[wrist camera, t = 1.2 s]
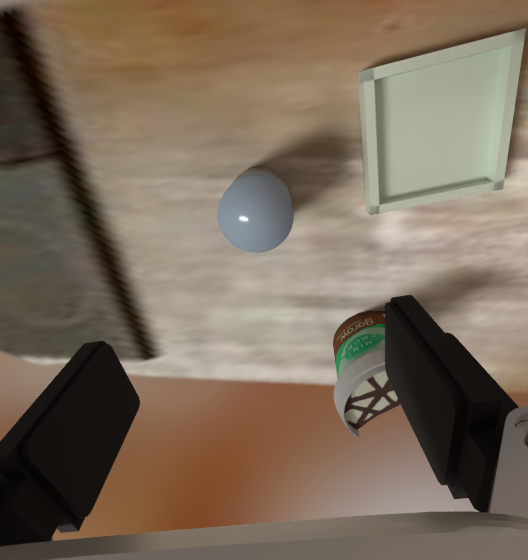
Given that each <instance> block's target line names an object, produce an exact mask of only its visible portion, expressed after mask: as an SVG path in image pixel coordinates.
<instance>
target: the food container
mask: <svg viewBox="0 0 528 560" xmlns="http://www.w3.org/2000/svg"><path fill="white" fill-rule="evenodd" d="M333 347H334V354H335V362H336V369H337V377H338V381H337V383H336V386H335V389H334V402H335V405H336V408H337V410H338V412H339V414H340V417H341V419H342V420H343V422H344V423H345V425H346V426H347V427H348V429H349V430H350V431H351V432H352V433H353V434H354V435H355V436H356V437H358V438H359V432H358V429H359V428H360V427H362V426H363V425H364V424H366V423H367V422H368V421H369V420H371V419H372V418H374V417H376V416H377V415H379V414H381V413H384V412H386V411H388V410H390V409H392V408H394V407H396V406H398V405H399V404H400V402H399V400H398V398H397V396H396V393H395V391H394V389H393V387H392V385H391V383H390V381H389V379H388V377H387V374H386V370H385V312H384V311H367V312H363V313H359V314H356V315H354V316H352V317H350V318H348V319H347V320H346V321H345V322H343V323H342V324H341V325H340V327H339V328H338V330H337V331H336V333H335V336H334V340H333Z"/></svg>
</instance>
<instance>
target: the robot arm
mask: <svg viewBox="0 0 528 560" xmlns="http://www.w3.org/2000/svg"><path fill="white" fill-rule="evenodd" d="M385 370H386V374H387V377H388V379H389V381H390V383H391V385H392V387H393V389H394V391H395V393H396V396H397V398H398V400H399V402H400V404H401V406H402V408H403V410H404V412H405V414H406V416H407V418H408V420H409V422H410V424H411V426H412V428H413V430H414V433H415V435H416V437H417V438H418V441H419V443H420V445H421V447H422V449H423V451H424V453H425V455H426V457H427V459H428V461H429V464H430V465H431V468H432V470H433V472H434V474H435V476H436V478H437V480H438V481H439V483H440V484H441V485H447V486H448V488H449V490H450V491H451V493H452V495H453V498H454V499H461V498H469V500H470V502H471V503H472V505H473V507H474V508H475V509H476V510H478V511H479V512H421V513H403V514H387V515H386V514H385V515H368V516H352V517H340V518H326V519H313V520H300V521H287V522H275V523H261V524H249V525H237V526H223V527H212V528H200V529H187V530H175V531H163V532H151V533H139V534H127V535H116V536H106V537H105V536H104V537H93V538H82V539H70V540H59V541H53V538H52V536H53V534H54V532H55V530H56V528H57V529H58V530H59V531H60V532H73V531H79V529H80V527H81V525H82V523H83V521H84V519H85V517H86V516H88V515H89V514H90V512H91V511H92V509H93V507H94V504H95V502H96V500H97V498H98V496H99V494H100V491H101V489H102V487H103V485H104V483H105V480H106V478H107V476H108V474H109V472H110V470H111V467H112V465H113V463H114V461H115V459H116V457H117V455H118V452H119V450H120V448H121V445H122V444H123V442H124V439H125V437H126V435H127V433H128V431H129V429H130V426H131V424H132V422H133V420H134V418H135V416H136V413H137V411H138V409H139V405H140V400H139V397H138V395H137V393H136V391H135V389H134V387H133V385H132V384H131V382H130V380H129V378H128V376H127V374H126V372H125V371H124V369H123V367H122V365H121V363H120V361H119V359H118V358H117V356H116V354H115V352H114V350H113V348H112V347H111V346H110V345H109V344H107V343H106V342H104V341H98V342H91V343H86V344H84V345H83V346H82V347H81V348H80V349H79V350H78V351H77V353H76V354H75V355H74V356H73V357H72V358H71V360H70V361H69V362H68V363H67V364H66V365H65V367H64V368H63V369H62V370H61V371H60V372H59V374H58V375H57V376H56V377H55V378H54V379H53V381H52V382H51V383H50V384H49V385H48V387H47V388H46V389H45V390H44V391H43V392H42V394H41V395H40V396H39V397H38V398H37V399H36V400H35V402H34V403H33V404H32V405H31V406H30V407H29V409H28V410H27V411H26V412H25V413H24V414H23V416H22V417H21V418H20V419H19V420H18V422H17V423H16V424H15V425H14V426H13V427H12V428H11V430H10V431H9V432H8V433H7V434H6V436H5V437H4V438H3V439H2V440H1V441H0V560H528V407H527V406H526V407H521V408H519V407H518V406H517V405H516V403H515V402H514V401H513V400H512V399H511V398H510V397H509V396H508V395H507V394H506V392H505V391H504V390H503V389H502V388H501V387H500V386H499V385H498V384H497V383H496V381H495V380H494V379H493V378H492V377H491V376H490V375H489V374H488V373H487V371H486V370H485V369H484V368H483V367H482V366H481V365H480V364H479V363H478V362H477V360H476V359H475V358H474V357H473V356H472V355H471V354H470V353H469V352H468V350H467V349H466V348H465V347H464V346H463V345H462V344H461V343H460V342H459V341H458V339H457V338H456V337H455V336H453V335H452V334H450V333H444V331H443V330H442V329H441V328H440V327H439V326H438V325H437V323H436V322H435V321H434V320H433V319H432V318H431V317H430V315H429V314H428V313H427V312H426V311H425V310H424V308H423V307H422V306H421V305H420V304H419V303H418V302H417V300H416V299H415V298H414V297H413V296H412V295H406V296H400V297H393V298H391V301H390V303H386V304H385Z"/></svg>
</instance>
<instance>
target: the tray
mask: <svg viewBox="0 0 528 560" xmlns="http://www.w3.org/2000/svg"><path fill="white" fill-rule="evenodd" d="M525 32H526V28H524V29H520V30H516V31H513V32H509V33H505V34H501V35H497V36H493V37H490V38H486V39H482V40H478V41H474V42H470V43H466V44H463V45H459V46H455V47H451V48H447V49H443V50H440V51H436V52H432V53H428V54H424V55H420V56H416V57H413V58H409V59H405V60H401V61H397V62H393V63H390V64H386V65H382V66H378V67H374V68H370V69H366V70H363V71H362V72H360V73H359V74H358V91H359V107H360V123H361V139H362V156H363V172H364V188H365V205H366V211H367V212H368V213H369V214H370V215H374V214H379V213H384V212H389V211H394V210H399V209H404V208H409V207H414V206H420V205H425V204H430V203H435V202H440V201H445V200H450V199H455V198H460V197H465V196H470V195H476V194H481V193H486V192H491V191H496V190H501V189H503V185H504V178H505V171H506V164H507V157H508V150H509V143H510V136H511V129H512V122H513V115H514V108H515V101H516V94H517V87H518V80H519V73H520V66H521V60H522V53H523V46H524V39H525Z"/></svg>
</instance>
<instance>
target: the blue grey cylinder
mask: <svg viewBox="0 0 528 560" xmlns="http://www.w3.org/2000/svg"><path fill="white" fill-rule="evenodd" d="M293 215H294V214H293V207H292V202H291V197H290V193H289V189H288V186H287V184H286V182H285V180H284V179H283V178H282V177H281V176H280V175H279V174H278V173H277V172H275V171H274V170H271V169H269V168H265V167H254V168H250V169H248V170H246V171H244V172H243V173H241V174H240V175H239V176H238V177H237V178H236V180H235V181H234V182H233V183H232V184H231V186H230V187H229V188H228V189H227V190H226V192H225V193H224V194H223V196H222V198H221V200H220V203H219V207H218V221H219V225H220V228H221V230H222V232H223V234H224V236H225V237H226V238H227V239H228V241H229V242H231V243H232V244H233V245H234V246H236V247H237V248H239V249H241V250H244V251H248V252H254V253H259V252H265V251H269V250H271V249H273V248H275V247H277V246H278V245H280V244H281V243H282V242H283V241H284V240H285V239H286V237H287V236H288V234H289V233H290V230H291V228H292V225H293Z"/></svg>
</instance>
